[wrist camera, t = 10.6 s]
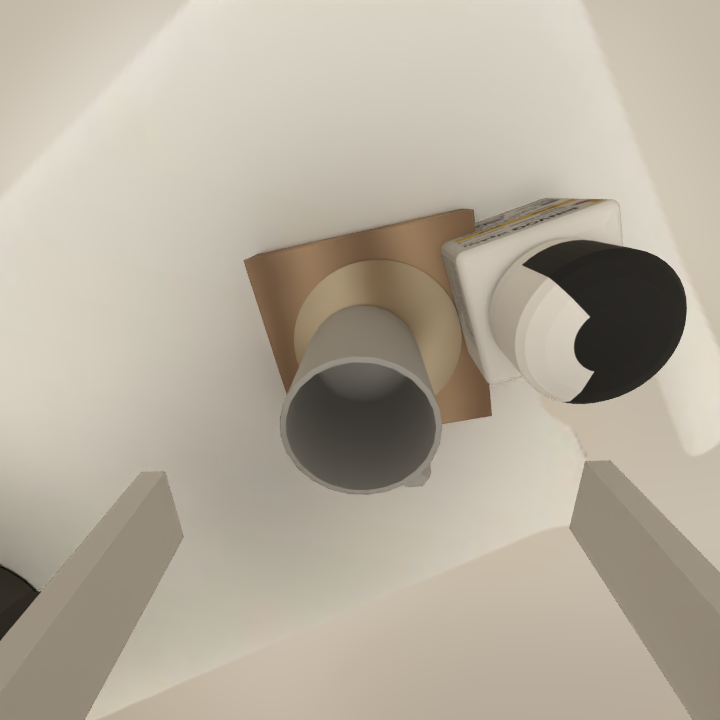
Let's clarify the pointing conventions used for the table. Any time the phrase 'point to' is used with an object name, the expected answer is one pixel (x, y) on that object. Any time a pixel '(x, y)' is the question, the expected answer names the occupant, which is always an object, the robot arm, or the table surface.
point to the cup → (362, 405)
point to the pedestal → (375, 299)
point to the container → (564, 300)
